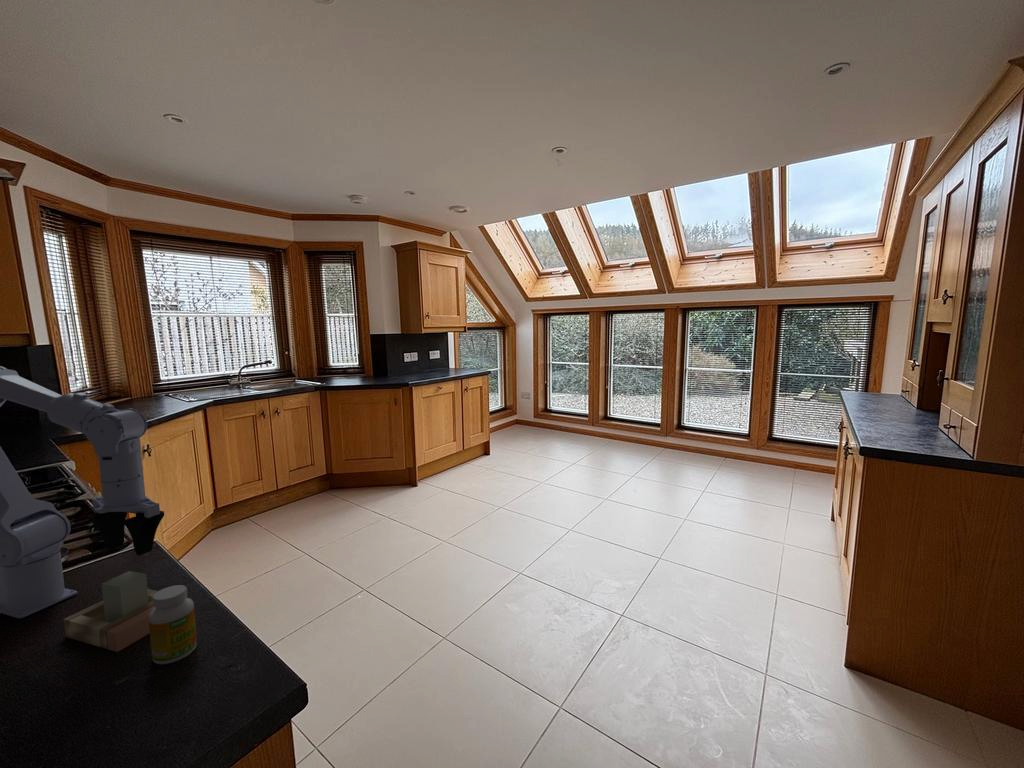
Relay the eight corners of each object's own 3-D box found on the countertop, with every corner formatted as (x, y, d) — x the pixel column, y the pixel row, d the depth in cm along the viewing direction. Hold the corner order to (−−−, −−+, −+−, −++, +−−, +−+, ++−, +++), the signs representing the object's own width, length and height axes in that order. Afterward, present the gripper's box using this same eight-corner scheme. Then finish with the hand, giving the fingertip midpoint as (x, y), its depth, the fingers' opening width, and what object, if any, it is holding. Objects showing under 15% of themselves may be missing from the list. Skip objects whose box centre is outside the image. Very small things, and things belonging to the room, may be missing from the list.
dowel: (106, 629, 71) (101, 583, 70) (132, 614, 75) (128, 571, 74) (124, 633, 70) (119, 586, 69) (150, 618, 74) (146, 573, 73)
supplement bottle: (173, 668, 62) (167, 604, 62) (142, 663, 64) (136, 600, 63) (206, 642, 68) (201, 583, 67) (177, 638, 69) (172, 580, 68)
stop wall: (108, 649, 66) (106, 631, 66) (176, 610, 76) (174, 594, 76) (117, 652, 66) (115, 633, 66) (184, 612, 75) (182, 596, 75)
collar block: (65, 636, 70) (63, 619, 69) (135, 601, 79) (133, 585, 79) (107, 649, 67) (105, 630, 66) (174, 610, 76) (173, 594, 76)
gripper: (68, 481, 76) (76, 554, 77) (124, 488, 72) (132, 566, 73) (115, 469, 83) (122, 537, 84) (169, 475, 78) (175, 547, 80)
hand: (129, 550), depth 79 cm, fingers open, 7 cm apart
